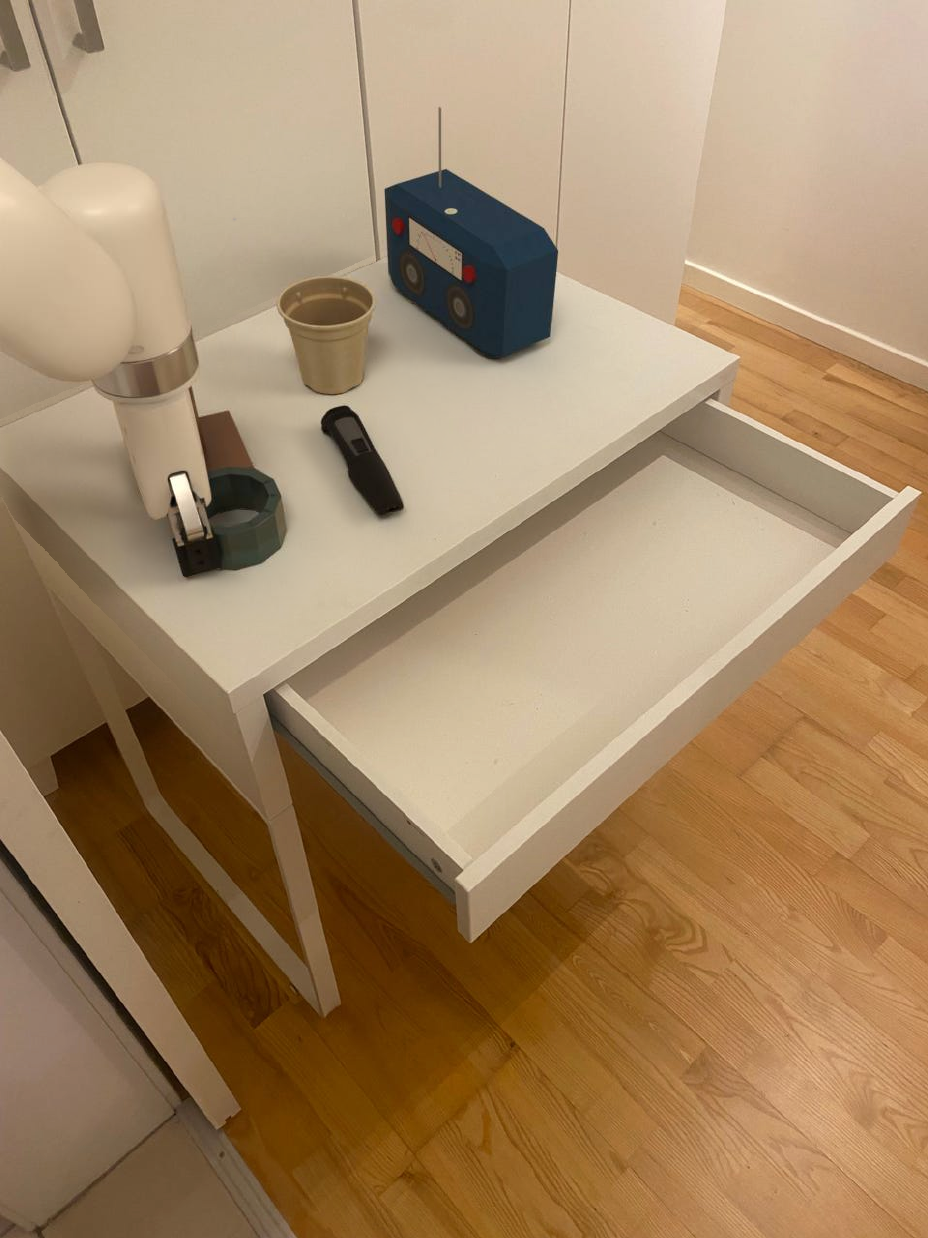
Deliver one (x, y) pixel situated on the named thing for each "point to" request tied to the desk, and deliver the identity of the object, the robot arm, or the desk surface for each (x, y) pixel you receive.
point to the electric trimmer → (362, 460)
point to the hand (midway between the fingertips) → (191, 538)
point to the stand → (220, 440)
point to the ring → (258, 534)
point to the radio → (471, 261)
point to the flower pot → (328, 330)
